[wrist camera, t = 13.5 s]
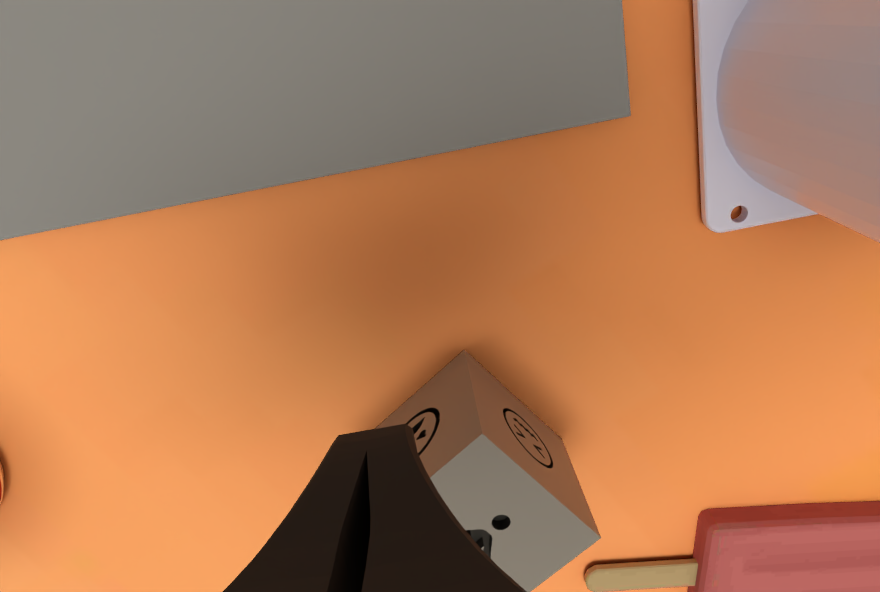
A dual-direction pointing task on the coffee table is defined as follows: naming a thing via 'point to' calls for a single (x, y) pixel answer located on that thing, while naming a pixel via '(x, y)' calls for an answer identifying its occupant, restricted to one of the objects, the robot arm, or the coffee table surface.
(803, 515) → the popsicle
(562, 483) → the dice cube
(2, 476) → the soda can
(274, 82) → the mat
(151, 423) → the coffee table surface
